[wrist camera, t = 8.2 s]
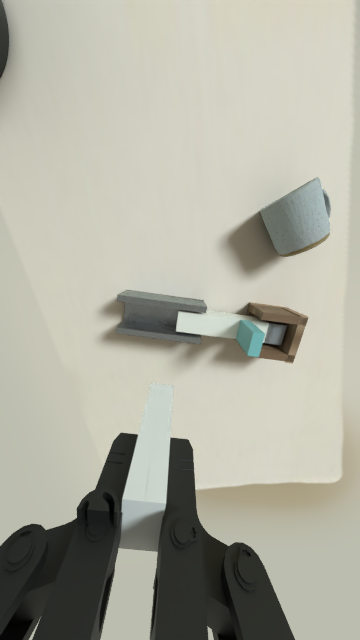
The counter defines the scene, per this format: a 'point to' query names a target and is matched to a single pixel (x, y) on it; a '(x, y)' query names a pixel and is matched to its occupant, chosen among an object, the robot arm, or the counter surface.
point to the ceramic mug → (298, 219)
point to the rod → (232, 328)
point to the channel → (156, 315)
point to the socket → (292, 333)
